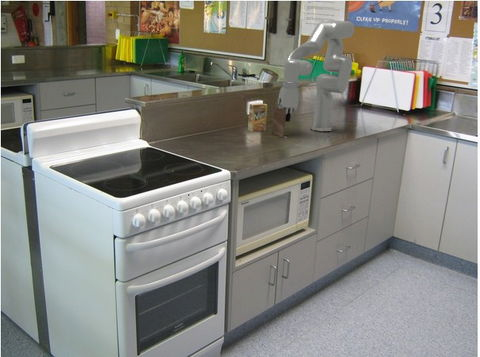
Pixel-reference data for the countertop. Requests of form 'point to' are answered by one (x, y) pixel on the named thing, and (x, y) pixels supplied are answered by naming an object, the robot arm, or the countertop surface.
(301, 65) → the robot arm
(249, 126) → the candy box
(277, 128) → the walnut board
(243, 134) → the countertop surface
